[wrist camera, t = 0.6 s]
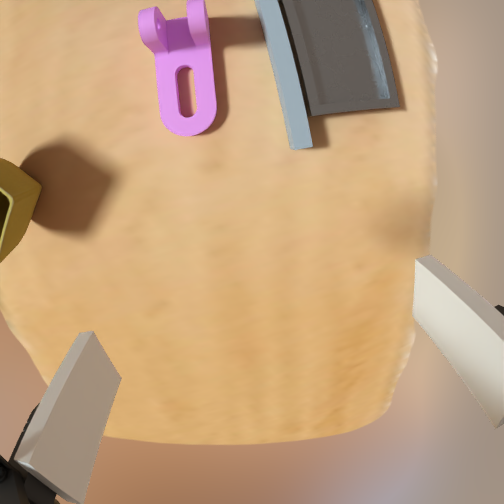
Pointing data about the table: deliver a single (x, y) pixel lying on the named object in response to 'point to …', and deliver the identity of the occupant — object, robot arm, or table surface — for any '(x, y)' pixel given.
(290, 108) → the door edge
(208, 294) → the table surface
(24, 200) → the flower pot
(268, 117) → the table surface
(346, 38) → the shallow rectangular tray
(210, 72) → the bracket
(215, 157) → the table surface
